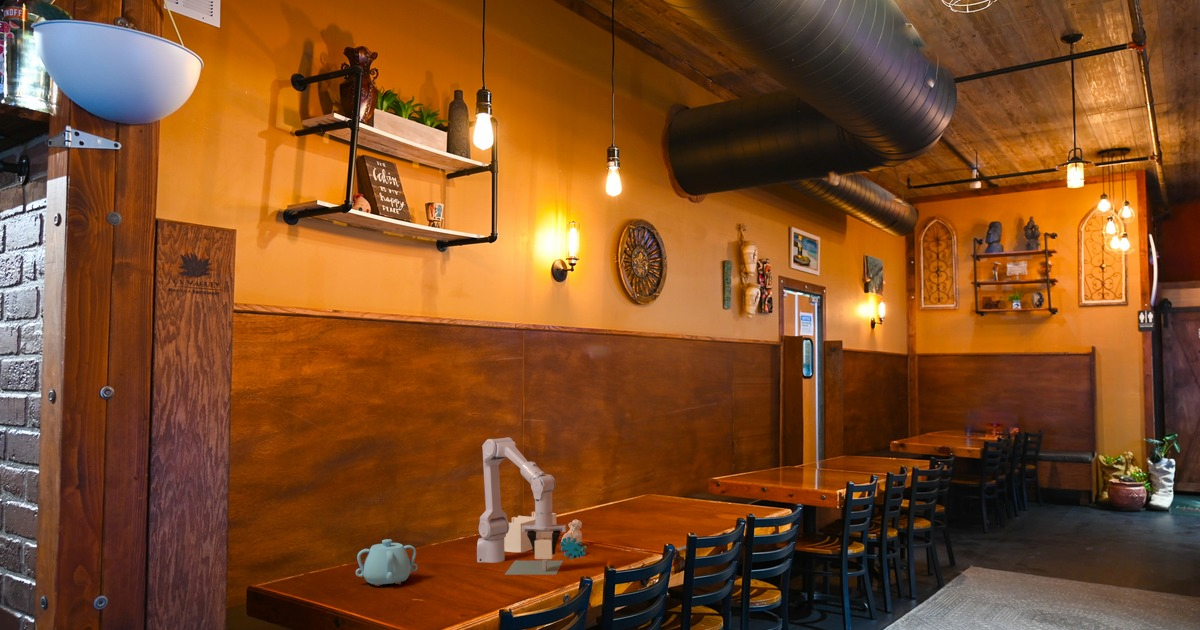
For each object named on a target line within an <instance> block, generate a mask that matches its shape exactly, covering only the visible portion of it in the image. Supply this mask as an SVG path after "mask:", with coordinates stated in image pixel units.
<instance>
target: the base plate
mask: <svg viewBox="0 0 1200 630" xmlns="http://www.w3.org/2000/svg"><path fill="white" fill-rule="evenodd" d="M563 563H564V560H547V571H546V572H542V560H514V561H513V563H512V564H511V565H510V566H509V568H508V569H507V571H506V572H505V573H504V575H505V576H507V575H508V576H513V575H514V576H515V575H517V576H518V575H523V576H524V575H525V576H527V575H529V576H530V575H534V576H535V575H536V576H537V575H539V576H540V575H541V576H542V575H543V576H544V575H550V576H551V575H553V576H554V575H555V576H556V575H557V573H558V572H559V570H560V568H561V566H562V564H563Z"/></svg>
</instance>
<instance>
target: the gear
mask: <svg viewBox="0 0 1200 630" xmlns="http://www.w3.org/2000/svg"><path fill="white" fill-rule="evenodd" d="M562 538H563V537H562ZM570 539H571V537H567V540H568V542H566V538H563V540H562V539H561V540H562V541H563V542H561V541H560V544H559V545H560V546H561V548H560V550H561V552H564V553H563V555H564V556H565V557H569V559H570V560H573V559H575V558H576V559H578V558H583V557H585V555H586V554H587V553H586V549H587V548H588V547H587V545H584V546H582V544H583V543H582V541H581V542H578V543H575V542H576V540H577V539H575V538H573V540H572V542H571V541H570ZM564 543H565V544H564ZM562 546H563V547H562ZM574 557H575V558H574Z"/></svg>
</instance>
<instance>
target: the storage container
mask: <svg viewBox="0 0 1200 630" xmlns="http://www.w3.org/2000/svg"><path fill="white" fill-rule="evenodd" d="M552 522H553V525H557V513H556V512H552ZM523 525H535V511H531V516H527V515H524V516H523V515H517V517H516V516H513V517H511V522H509V531H508V533H507V534H506V537H504V549H505V552H508V553H526V552H529V551H530V550H533V548H532V545H531V542H530V540H529V538H528V536H527V533H528V532H522V526H523ZM552 533H553V532H536V538H552Z"/></svg>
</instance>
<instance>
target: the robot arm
mask: <svg viewBox="0 0 1200 630" xmlns="http://www.w3.org/2000/svg"><path fill="white" fill-rule="evenodd" d="M481 447H482V460H483V462H482V463H483V464H482V465H483V480H484V481H483V482H484V483H483V484H484V485H483V486H484V500H485V510H484V512H483V513H482V514H481V515H480V516H479V525H478V532H479V535H480V536H481V537H479V538H478V540H477V543H476V544H477V545H476V562H477V563H490V564H491V563H493V564H494V563H501V562H504V561H505V560H506V559H505V554H506V553H505V549H504V537H506V534H507V533H508V531H509V523H510V522H509V521H508V516H507V515H508V514H507V512H505V511H504V510H503V509H502V501H501V500H502V499H501V483H500V482H501V481H500V467H499V465H500V464H501V463H502V461H503V460H505V459H507V458H508V459H509V460H510V461H511V463H513V464H514V465H515V466H516V467H518V468H519V469H520V470H519V472H520V475H521V476H522V477H523V478H524V479H525V480H526V481H527V482H528V483H529V484H530V488H531V491H532V494H533V499H534V512H535V525H523V526H522V532H528V533H527V536H528V538H529V540H530V542H531V545H532V548H533V549H532V553H533V555H534V556H535V540H536V532H553V533H552V544H553V545H552V554H554V555H555V554H556V548H557V544H558V541H559V538H560V535H561V533H565V532H566V533H567V525H566V524H556V525H553V522H552V513H553V492H554V491H555V489H556V486H557V485H556V479H555V478H554V477H553V475H552V474H547V473H545V472H544V470H543V471H542V470H541V468H540V467H538V465H537V463H536V462H535V461H528V460H527V459H526V457H525V456H524V455H523V453H521V452H520V450H518V448H517V443H516V442H515V441H513V439H512V437H509V436H507V437H500V438H488V439H486V440H485V442H483V444H482V446H481Z"/></svg>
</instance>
